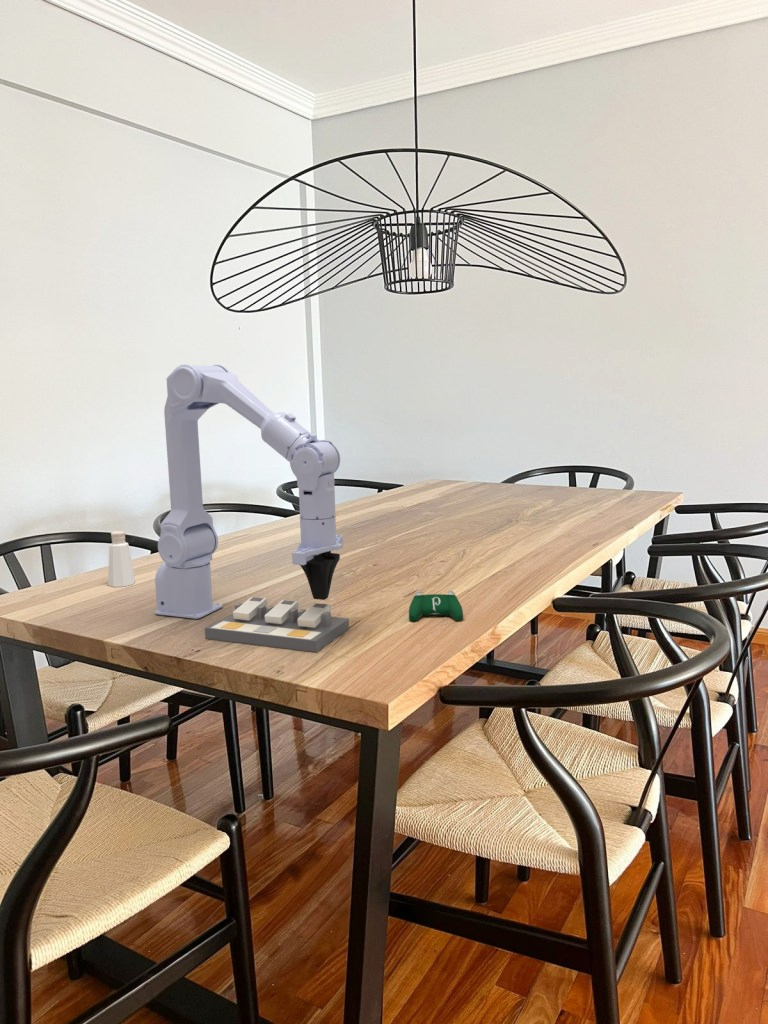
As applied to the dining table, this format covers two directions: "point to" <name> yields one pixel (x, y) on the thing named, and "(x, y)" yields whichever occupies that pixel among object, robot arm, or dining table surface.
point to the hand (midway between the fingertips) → (320, 598)
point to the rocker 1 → (249, 608)
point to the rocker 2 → (281, 611)
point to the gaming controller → (435, 606)
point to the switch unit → (278, 631)
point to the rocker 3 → (313, 615)
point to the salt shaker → (120, 562)
